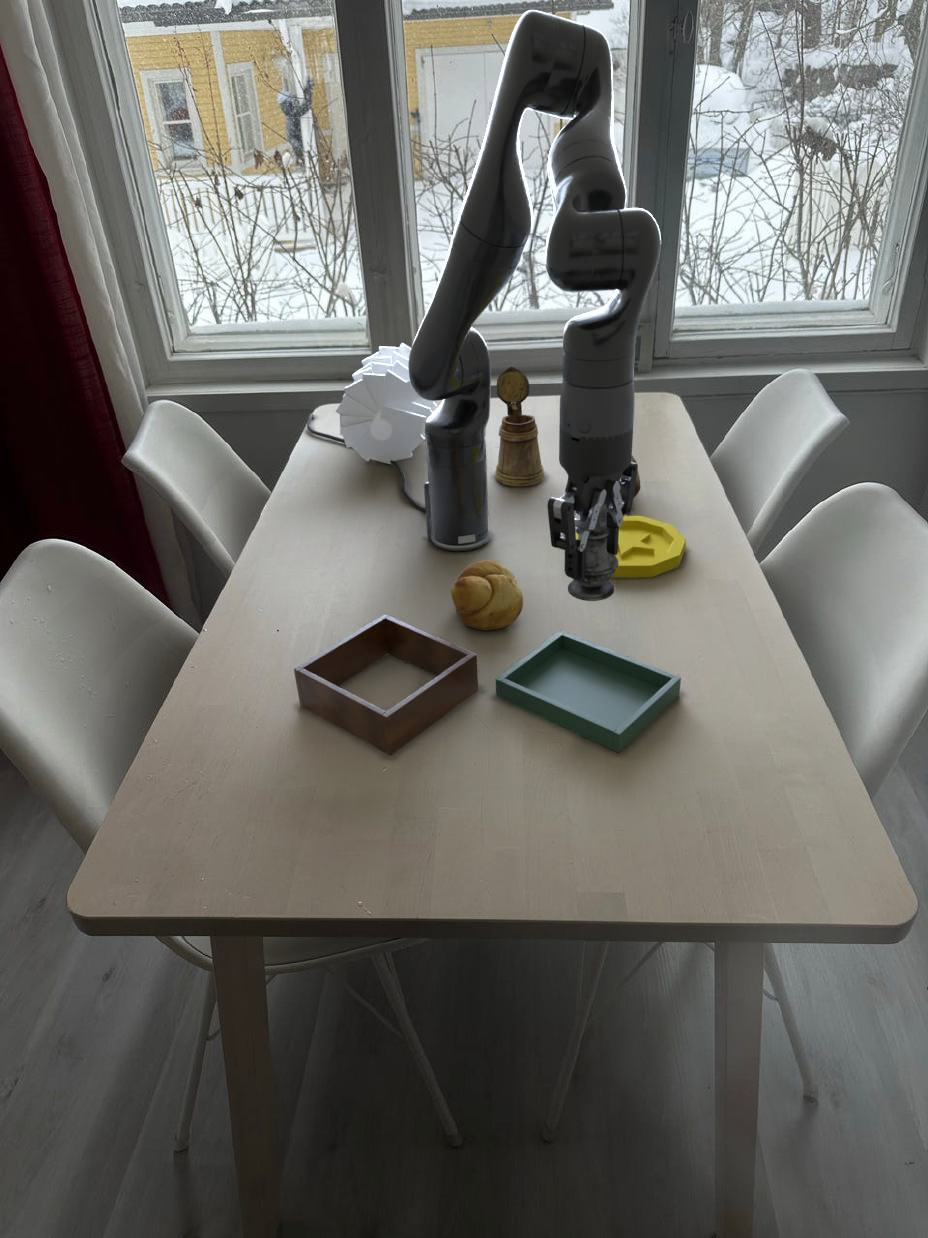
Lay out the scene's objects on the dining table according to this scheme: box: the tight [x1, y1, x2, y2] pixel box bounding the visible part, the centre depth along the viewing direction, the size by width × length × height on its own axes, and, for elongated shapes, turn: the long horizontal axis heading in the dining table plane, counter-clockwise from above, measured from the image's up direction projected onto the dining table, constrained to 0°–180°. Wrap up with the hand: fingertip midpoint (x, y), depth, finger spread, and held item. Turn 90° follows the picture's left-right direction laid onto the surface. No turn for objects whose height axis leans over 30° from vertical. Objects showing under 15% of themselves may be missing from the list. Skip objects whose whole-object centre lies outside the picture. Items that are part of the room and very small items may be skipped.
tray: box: [495, 630, 682, 753], centre depth 112 cm, size 18×14×3 cm
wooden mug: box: [494, 366, 545, 487], centre depth 167 cm, size 9×14×18 cm, turn 6°
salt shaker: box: [567, 504, 619, 602], centre depth 102 cm, size 6×6×12 cm
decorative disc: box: [576, 515, 687, 579], centre depth 143 cm, size 17×18×2 cm
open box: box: [293, 614, 479, 757], centre depth 112 cm, size 16×16×6 cm
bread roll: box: [450, 559, 524, 631], centre depth 128 cm, size 13×10×8 cm
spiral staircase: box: [335, 342, 438, 465], centre depth 182 cm, size 18×18×25 cm
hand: (591, 565), depth 103 cm, fingers closed on salt shaker, 6 cm apart
